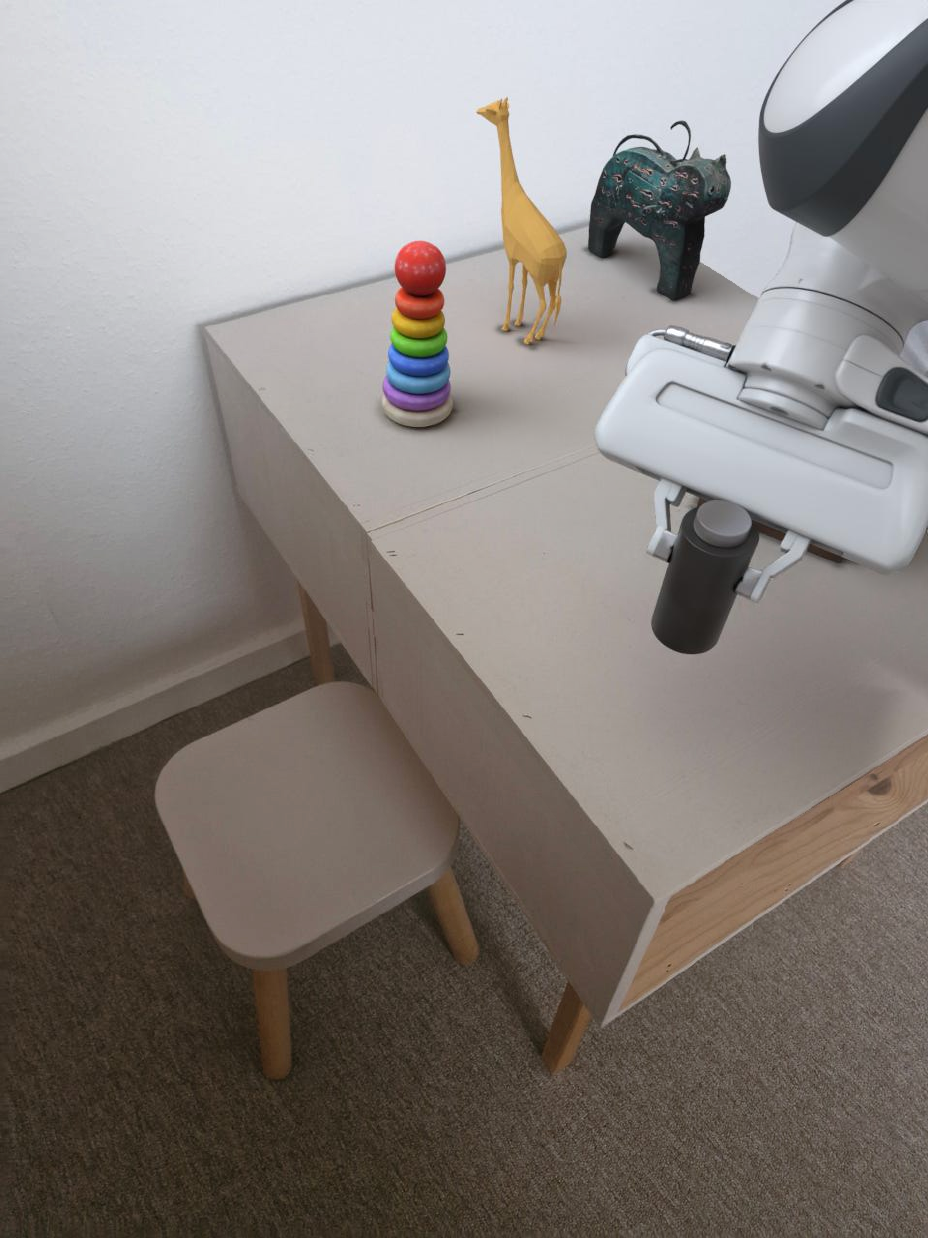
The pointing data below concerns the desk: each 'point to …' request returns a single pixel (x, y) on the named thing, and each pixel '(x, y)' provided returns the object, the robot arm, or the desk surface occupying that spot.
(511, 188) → the giraffe
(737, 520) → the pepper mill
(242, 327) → the desk surface
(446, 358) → the stacking toy
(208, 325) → the desk surface
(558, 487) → the desk surface
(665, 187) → the ceramic cat
